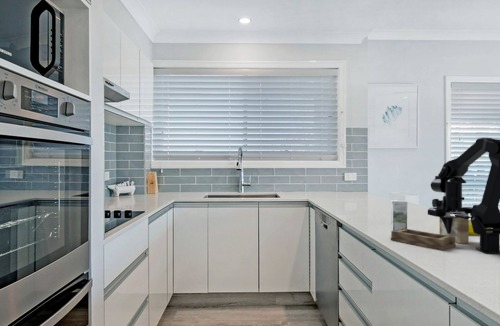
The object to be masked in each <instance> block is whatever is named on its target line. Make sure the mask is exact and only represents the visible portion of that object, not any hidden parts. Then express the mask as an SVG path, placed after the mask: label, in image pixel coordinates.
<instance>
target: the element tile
mask: <svg viewBox="0 0 500 326" xmlns="http://www.w3.org/2000/svg"><path fill="white" fill-rule="evenodd" d="M468 220H469V236H472V235H473V236H480V234H476V233H474V231H473V227H472V224H471V219H468ZM486 229H493V228H486Z"/></svg>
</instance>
